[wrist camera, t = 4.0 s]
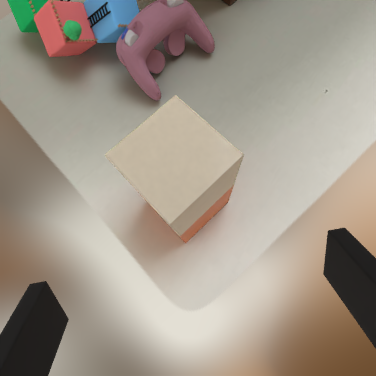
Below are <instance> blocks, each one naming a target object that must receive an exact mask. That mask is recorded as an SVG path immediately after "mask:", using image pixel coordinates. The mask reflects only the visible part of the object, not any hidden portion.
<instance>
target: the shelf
mask: <svg viewBox="0 0 376 376" xmlns="http://www.w3.org/2000/svg"><path fill="white" fill-rule="evenodd" d="M222 1H224V2H225V3H227V4H228V5H232V4H233V3H234V2H235V1H236V0H222Z"/></svg>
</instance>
